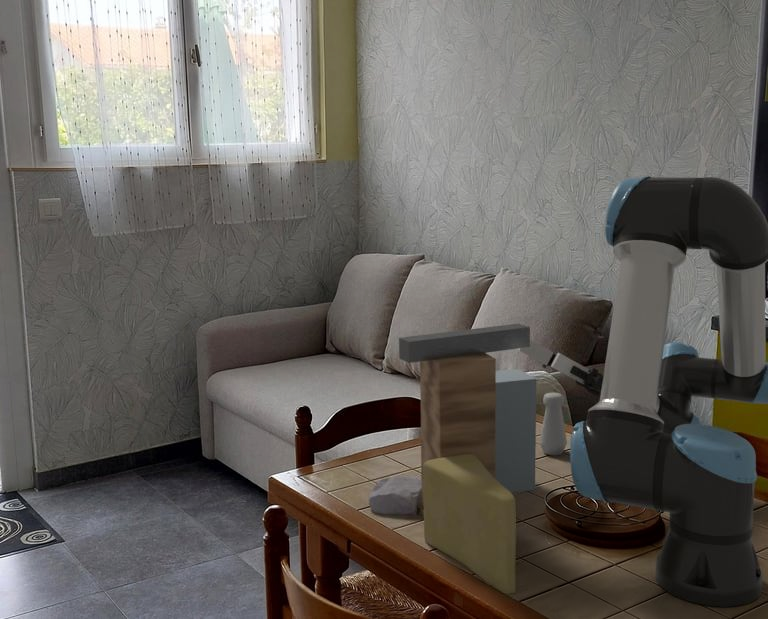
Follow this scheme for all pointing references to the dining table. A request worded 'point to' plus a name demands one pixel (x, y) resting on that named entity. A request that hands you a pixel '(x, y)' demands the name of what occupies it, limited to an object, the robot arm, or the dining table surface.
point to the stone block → (397, 495)
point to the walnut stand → (458, 409)
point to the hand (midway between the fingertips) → (537, 351)
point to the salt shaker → (553, 425)
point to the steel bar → (463, 342)
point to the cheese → (471, 518)
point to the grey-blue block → (515, 430)
